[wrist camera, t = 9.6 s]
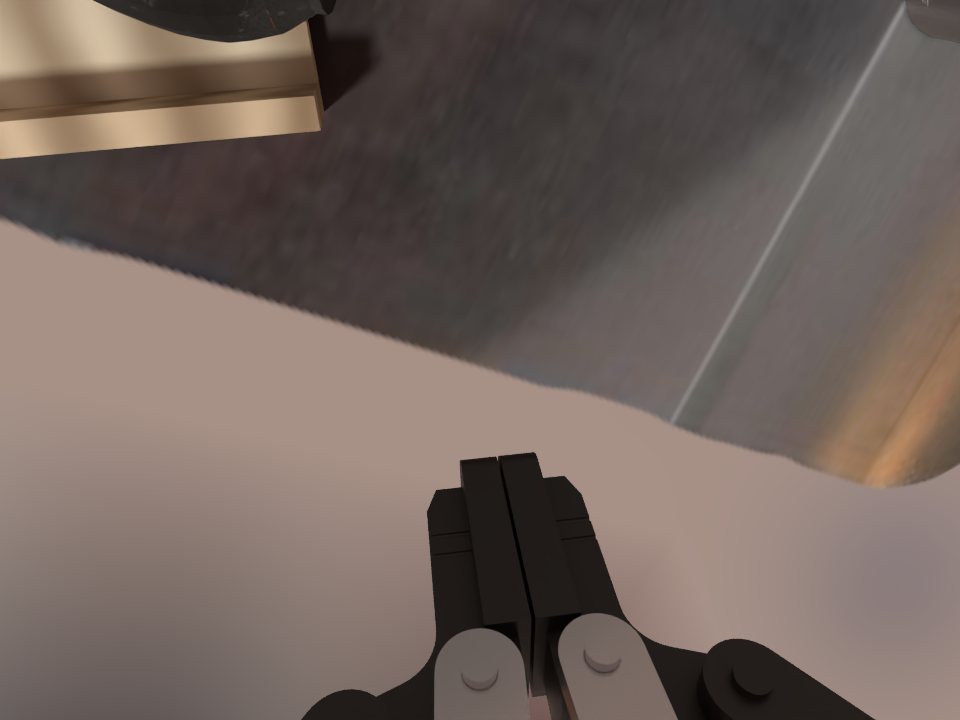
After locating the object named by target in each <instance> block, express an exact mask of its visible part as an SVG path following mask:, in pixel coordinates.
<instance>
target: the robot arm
mask: <svg viewBox="0 0 960 720" xmlns="http://www.w3.org/2000/svg"><path fill="white" fill-rule="evenodd" d="M905 1H906V6H907V12H908V14H909V16H910V18H911V20H912V23H913V24H914V25H915V26H916V27H917V28H918V29H919V30H920V31H921V32H922V33H924V34H926V35H928V36H930V37H934V38H939V39H943V40H948V41H952V42H957V43H960V0H905ZM460 477H461V487H460V488H452V489H442V490H436V492H435V494H434V497H433V499H432V501H431V504H430V506H429V509H428V511H427V518H428V531H429V542H430V543H429V544H430V556H431V567H432V568H431V569H432V582H433V595H434V608H435V620H436V641H435V647H434V649H433V652H432V655H431V656H430V659H429V660H428V662H427V663H426V664H425V666H424V667H423V668H422V669H421V671H419V673H417V675H415V676H414V677H412V678H411V679H410V680H408V681H406V682H405V683H403V684H401V685H399V686H397V687H395V688H393V689H391V690H389V691H387V692H385V693H383V694H381V695H379V696H377V697H375V696H374V695H372V694H370V693H368V692H364V691H361V690H354V689H351V690H342V691H338V692H335V693H332V694H330V695H328V696H326V697H324V698H323V699H321V700H320V701H318V702H317V703H316V704H315V705H314V706H312V708H311V709H310V710H309V711H308V712H307V713H306V715H305V716H304V717H303V718H302V720H530V713H529V704H528V693H529V684H530V689H531V694H532V697H536V696H544V695H546V696H547V700H548V705H549V710H550V715H551V719H552V720H875V719H873V718H872V717H870V716H869V715H867V714H866V713H864V712H863V711H861V710H860V709H858V708H857V707H855V706H854V705H852V704H851V703H849V702H848V701H846V700H845V699H843V698H842V697H840V696H839V695H837V694H836V693H835V692H833V691H831V690H830V689H829V688H827V687H826V686H824V685H823V684H821V683H820V682H818V681H817V680H815V679H814V678H812V677H811V676H809V675H808V674H806V673H805V672H803V671H802V670H800V669H799V668H797V667H796V666H794V665H793V664H791V663H790V662H788V661H787V660H785V659H784V658H782V657H780V656H779V655H778V654H776V653H775V652H773V651H772V650H770V649H769V648H767V647H765V646H763V645H761V644H759V643H756V642H753V641H750V640H745V639H729V640H725V641H722V642H720V643H718V644H716V645H715V646H713V647H712V648H711V649H710V651H709V652H708V653H707V654H706V653H701V652H695V651H690V650H685V649H679V648H674V647H669V646H666V645H662V644H659V643H657V642H654V641H652V640H650V639H649V638H647V637H645V636H644V635H642V634H641V633H640V632H638V631H637V630H636V629H635V628H634V627H633V626H632V625H631V624H630V622H629V621H628V620H627V618H626V617H625V615H624V614H623V612H622V610H621V607H620V605H619V602H618V599H617V596H616V593H615V591H614V587H613V584H612V581H611V579H610V576H609V573H608V570H607V567H606V564H605V561H604V558H603V555H602V553H601V550H600V547H599V544H598V541H597V540H596V537H595V532H594V530H593V526H592V524H591V521H590V520H589V515H588V512H587V509H586V506H585V503H584V500H583V497H582V495H581V493H580V492H579V491H578V490H577V489H576V488H575V487H574V486H573V485H572V484H571V483H570V482H569V480H568V479H567V478H566V477H565V476H559V477H549V478H543V476H542V472H541V469H540V466H539V462H538V459H537V456H536V454H535V453H534V452H532V453H524V454H514V455H504V456H498V461H497V458H496V457H488V458H478V459H468V460H460Z"/></svg>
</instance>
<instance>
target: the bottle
mask: <svg viewBox="0 0 960 720" xmlns="http://www.w3.org/2000/svg"><path fill="white" fill-rule="evenodd" d="M93 1H95V2H97V3H99V4H102V5H104V6H106V7H108V8H110V9H112V10H114V11H116V12H119V13H121V14H124V15H126V16H129V17H131V18H134V19H136V20H139V21H141V22H144V23H146V24H149V25H151V26H154V27H157V28H161V29H164V30H167V31H170V32H173V33H176V34H179V35H183V36H188V37H193V38H198V39H203V40H209V41H217V42H225V43H234V42H243V41H253V40H258V39H262V38H267V37H271V36H276V35H281V34H284V33H286V32H288V31H290V30H292V29H293V28H295V27H296V26H298V25H300V24H301V23H303V22H305V21H306V20H308V19H309V18H311V17H313V16H314V15H316V14H324V15H328V14H330V13H332V11H333V8H334V6H335V3H336V0H93Z"/></svg>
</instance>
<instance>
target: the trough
mask: <svg viewBox="0 0 960 720" xmlns="http://www.w3.org/2000/svg"><path fill="white" fill-rule="evenodd" d="M323 116H324V108H323V102H322V97H321V91H320V85H319V80H318V74H317V69H316V63H315V58H314V52H313V47H312V41H311V35H310V30H309V24H308V20H306V21H305V22H303V23H301V24H300V25H298V26H296V27H295V28H293V29H292V30H290V31H288V32H286V33H284V34H281V35H276V36H271V37H267V38H262V39H258V40H253V41H243V42H234V43H225V42H217V41H209V40H203V39H198V38H193V37H188V36H183V35H179V34H176V33H173V32H170V31H167V30H164V29H161V28H157V27H154V26H151V25H149V24H146V23H144V22H141V21H139V20H136V19H134V18H131V17H129V16H126V15H124V14H121V13H119V12H116V11H114V10H112V9H110V8H108V7H106V6H104V5H102V4H99V3H97V2H95V1H93V0H0V159H5V158H16V157H27V156H39V155H50V154H61V153H73V152H84V151H95V150H107V149H118V148H129V147H141V146H152V145H163V144H175V143H186V142H197V141H209V140H220V139H231V138H243V137H254V136H265V135H277V134H288V133H299V132H311V131H321V126H322V121H323Z"/></svg>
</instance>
